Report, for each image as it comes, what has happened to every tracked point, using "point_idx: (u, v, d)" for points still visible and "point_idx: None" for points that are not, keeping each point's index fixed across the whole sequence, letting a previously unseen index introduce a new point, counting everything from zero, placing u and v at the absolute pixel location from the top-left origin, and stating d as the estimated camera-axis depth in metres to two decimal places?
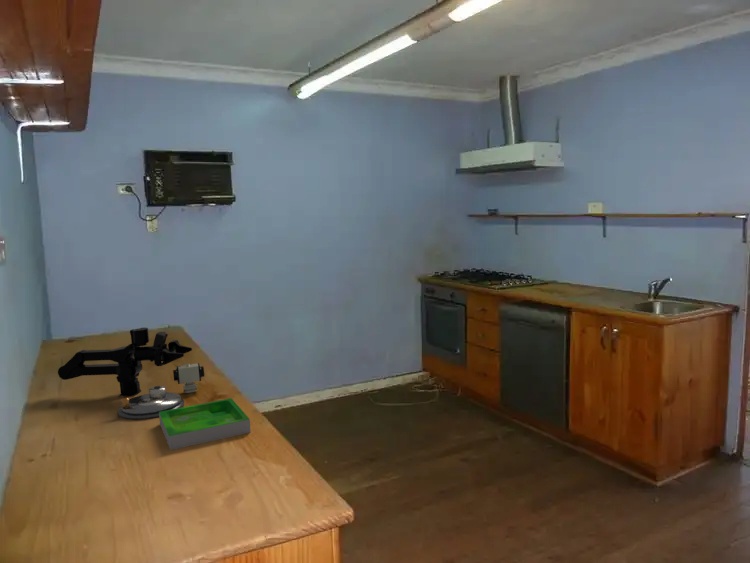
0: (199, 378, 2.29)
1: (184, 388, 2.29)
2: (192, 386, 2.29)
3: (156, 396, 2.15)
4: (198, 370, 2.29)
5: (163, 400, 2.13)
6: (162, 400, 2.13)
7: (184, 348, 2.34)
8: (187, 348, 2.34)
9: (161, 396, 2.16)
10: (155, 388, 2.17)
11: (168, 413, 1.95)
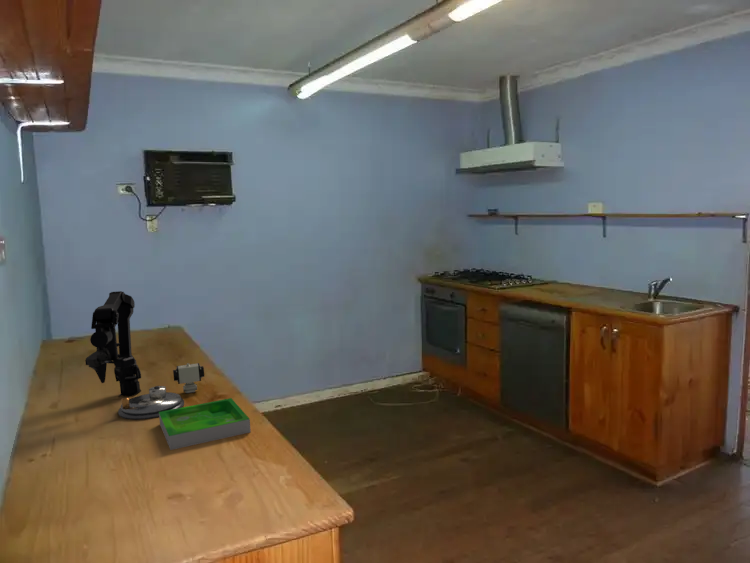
0: (199, 378, 2.29)
1: (184, 388, 2.29)
2: (192, 386, 2.29)
3: (156, 396, 2.15)
4: (198, 370, 2.29)
5: (163, 400, 2.13)
6: (162, 400, 2.13)
7: None
8: None
9: (161, 396, 2.16)
10: (155, 388, 2.17)
11: (168, 413, 1.95)
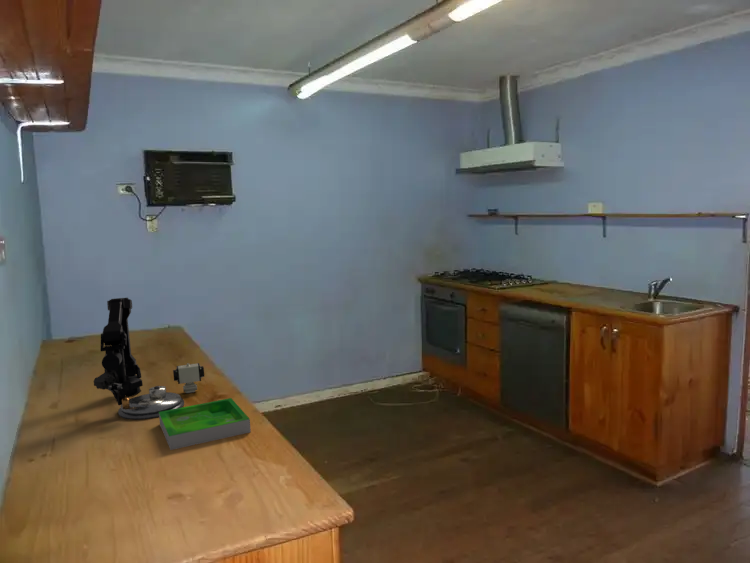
0: (199, 378, 2.29)
1: (184, 388, 2.29)
2: (192, 386, 2.29)
3: (156, 396, 2.15)
4: (198, 370, 2.29)
5: (163, 400, 2.13)
6: (162, 400, 2.13)
7: None
8: None
9: (161, 396, 2.16)
10: (155, 388, 2.17)
11: (168, 413, 1.95)
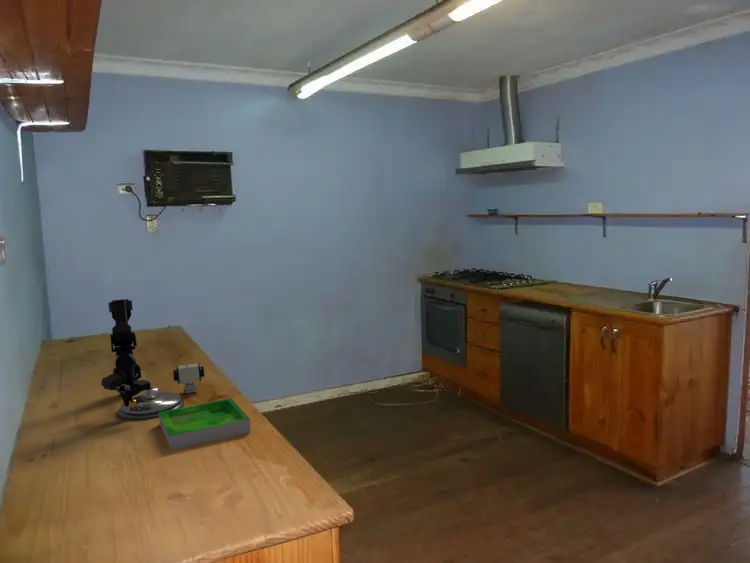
0: (199, 378, 2.29)
1: (184, 388, 2.29)
2: (192, 386, 2.29)
3: (153, 396, 2.16)
4: (198, 370, 2.29)
5: (164, 398, 2.15)
6: (162, 399, 2.15)
7: None
8: None
9: (157, 396, 2.17)
10: (149, 389, 2.17)
11: (168, 413, 1.95)
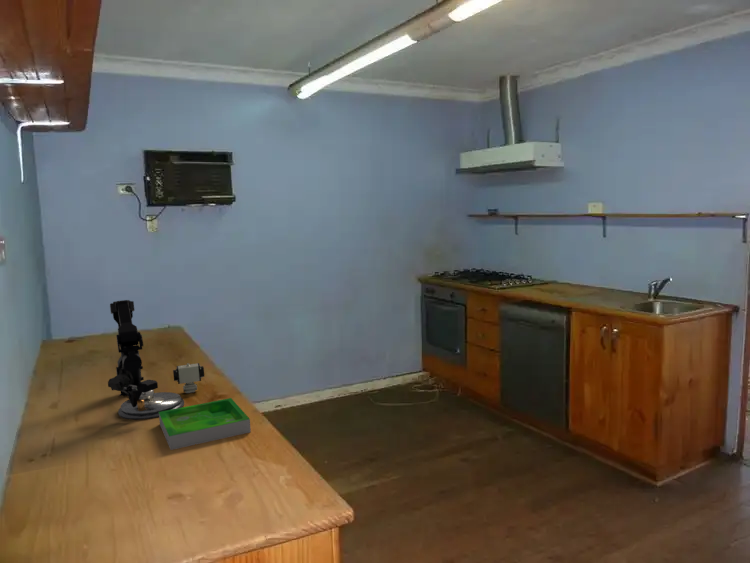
0: (199, 378, 2.29)
1: (184, 388, 2.29)
2: (192, 386, 2.29)
3: (150, 396, 2.15)
4: (198, 370, 2.29)
5: (163, 397, 2.16)
6: (161, 398, 2.16)
7: None
8: None
9: (153, 396, 2.17)
10: None
11: (168, 413, 1.95)
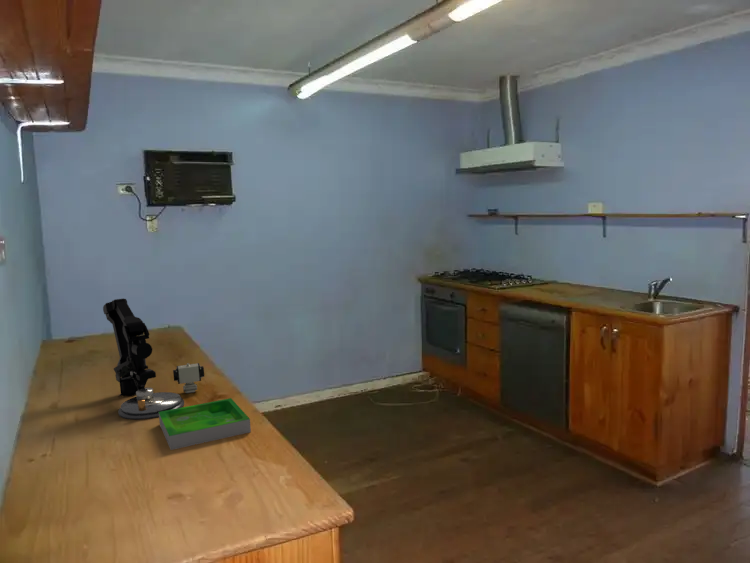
0: (199, 378, 2.29)
1: (184, 388, 2.29)
2: (192, 386, 2.29)
3: (150, 396, 2.15)
4: (198, 370, 2.29)
5: (162, 397, 2.17)
6: (161, 398, 2.16)
7: None
8: None
9: (153, 396, 2.17)
10: (145, 390, 2.16)
11: (168, 413, 1.95)
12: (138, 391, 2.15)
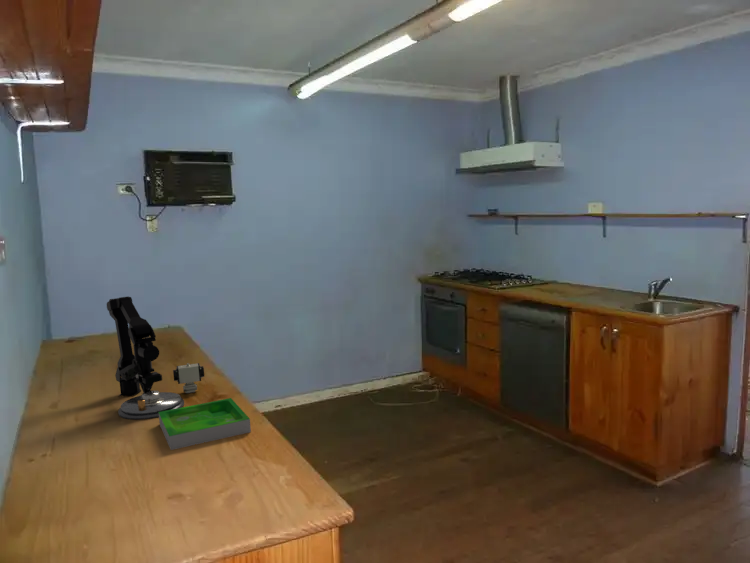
0: (199, 378, 2.29)
1: (184, 388, 2.29)
2: (192, 386, 2.29)
3: (156, 399, 2.11)
4: (198, 370, 2.29)
5: (162, 397, 2.17)
6: (161, 398, 2.16)
7: None
8: None
9: (159, 399, 2.13)
10: (151, 393, 2.11)
11: (168, 413, 1.95)
12: (144, 394, 2.11)
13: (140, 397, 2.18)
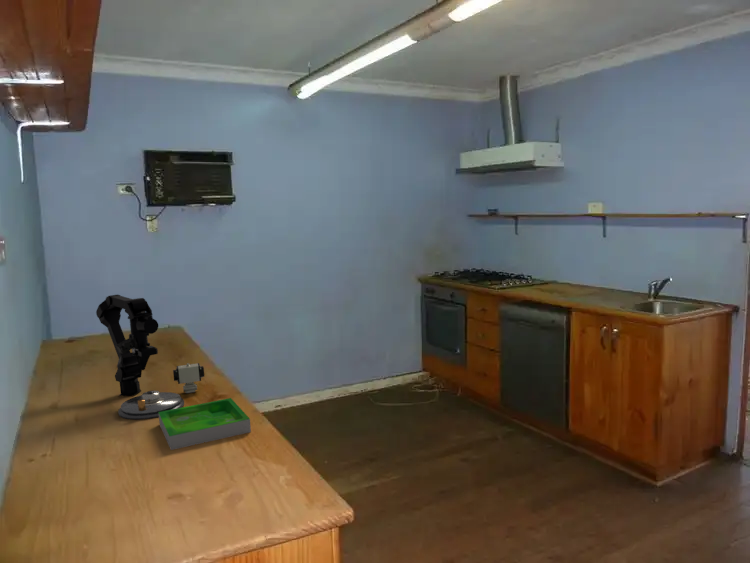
0: (199, 378, 2.29)
1: (184, 388, 2.29)
2: (192, 386, 2.29)
3: (156, 399, 2.11)
4: (198, 370, 2.29)
5: (162, 397, 2.17)
6: (161, 398, 2.16)
7: None
8: None
9: (159, 399, 2.13)
10: (151, 393, 2.11)
11: (168, 413, 1.95)
12: (144, 394, 2.11)
13: (140, 397, 2.18)
